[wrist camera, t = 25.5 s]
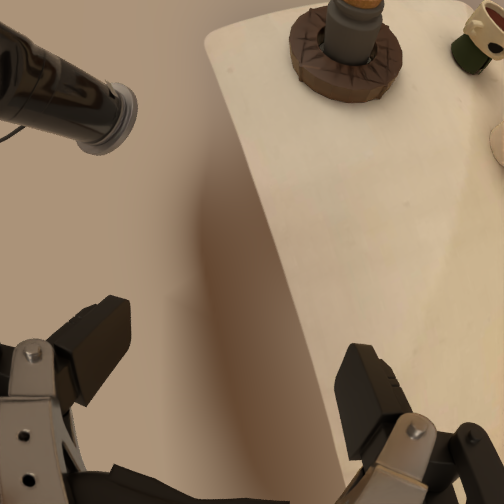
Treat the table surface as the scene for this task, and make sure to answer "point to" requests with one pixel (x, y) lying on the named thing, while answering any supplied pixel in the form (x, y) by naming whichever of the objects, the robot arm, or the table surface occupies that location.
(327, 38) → the bottle
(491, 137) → the foam cup
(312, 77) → the stand
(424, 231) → the table surface
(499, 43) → the character mug
